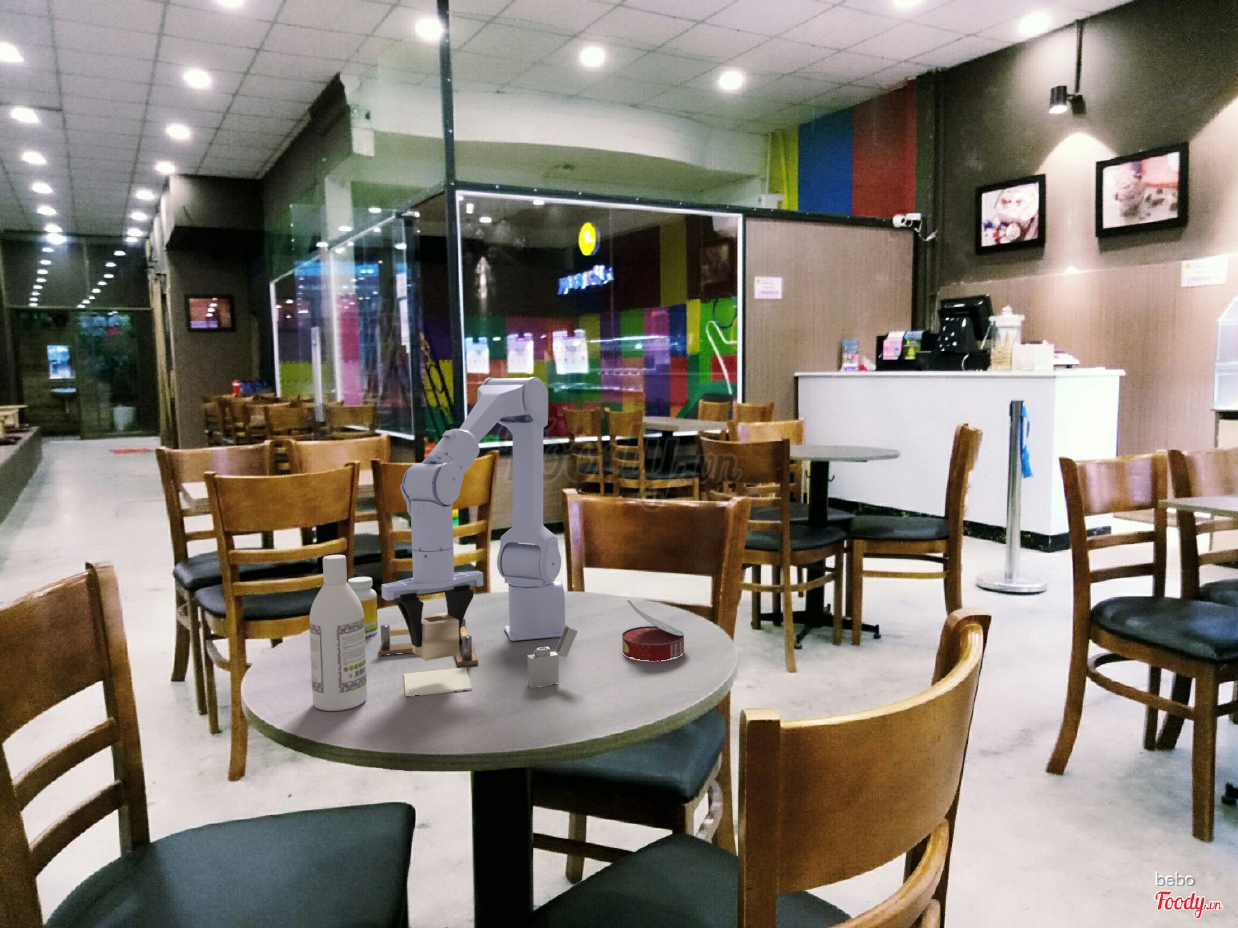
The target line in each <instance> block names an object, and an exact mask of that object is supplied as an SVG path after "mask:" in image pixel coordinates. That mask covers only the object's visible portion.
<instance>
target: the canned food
mask: <svg viewBox="0 0 1238 928" xmlns="http://www.w3.org/2000/svg"><path fill="white" fill-rule="evenodd" d="M627 603H628V604H629V605H630V606H631V607H632V608H633V610H634V611H635V612H636V613H637V614H638V615H640V616H641V617H642V618H643V619H644V620H646V622H648V623H650V624H651V625H647V626H646V625H645V626H637V627H632V628H629V629H627V630H624V631H623V632H622V635H621V637H622V640H621V641H622V644H621V645H622V648H621V649H622V652H623V653H624V654H625V655H626V656H628V657H633V658H635V659H640V660H649V661H657V660H658V661H661V660H667V659H670V658H673V657H678V656H680V655H681V654H682V653H683V652H684V653H685V633H684V632H683V631H681V630H679V629H677V628H675V627H673V626H671V625H670V624H667V623H665V622H663V621H660V620H658V619H656V618H653V616H650V615H649V614H647V613H644V612H642V610H640V609H638V608H637V607H636V605H634V604H633V602H632V601H631V600H629V599H628V600H627ZM623 653H622V654H623Z"/></svg>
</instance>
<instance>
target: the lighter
mask: <svg viewBox="0 0 1238 928" xmlns="http://www.w3.org/2000/svg"><path fill="white" fill-rule="evenodd" d="M578 631H579V630H578V629H576V628H575V627H572V626H570V625H568V624H565V628H564V630H563V633H562V635H561V636H560V637H559V640H558V643H557V644H556V647H555V650H554V651H551V648H550V646H542V647H537V648H535V650H534V651H533V653H532V654H527V656H526V657H527V686H530V687H531V688H530V687H529V688H530V689H535V688H534V687H538V686H544V687H549V686H548V685H551V684H556V683H559V684H560V681H559V675H560V674H559V656H561V657H565V658H567V657H568V655H569V653H570V650H571V648H572V646H573V644H574V641H575V639H576V636H577V634H578ZM551 686H552V685H551ZM538 688H539V687H538Z"/></svg>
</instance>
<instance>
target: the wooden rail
mask: <svg viewBox="0 0 1238 928" xmlns="http://www.w3.org/2000/svg"><path fill="white" fill-rule="evenodd" d="M466 629H467V627H466V618H464V619H463V622H462V626H461V630H460V635H459V655H454V657H455V661H456V664H457V668H464V667H470V666H472V667H473V666H479V659H478V655H477V653H476V651H475V648H474V646H473V642H472V641H473V640H472V638H473V637H472V635H468V632H467V630H466ZM405 635H408V636H409V635H410V633H409V630H408V627H406V628H395V629H391V628H390V624H382V625H380V645H379V651H378V653H379V654H378V655H379V656H380V655H387V654H396V653H409V654H414V653H413V652H412V642H407V643H398V644H397V643H395V644H394V643H393V644H391V637H394V636H405ZM387 656H388V655H387Z"/></svg>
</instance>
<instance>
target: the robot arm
mask: <svg viewBox="0 0 1238 928" xmlns="http://www.w3.org/2000/svg"><path fill="white" fill-rule="evenodd" d="M476 397H477V401H476V403H475V404H474V405H473V408H471V410H470V412H469V413H468V415H467V417H466V418H465V420H464V421H463V422H462V424H461V426H460V427H459V428H452V429H449V430H445V432H444V433H442V438H441V439H440V440H439V442H437V444H436V445H435V446H434V447H433V449H432V450H431V451H430V452H429V453H428V455H427V456H425V458H424V459H423V461H421V463H419V462H418V463H415V464H413V465H411V466H410V467H409V468H407V469H406V471H405V473H404V474H403V477H402V483H401V484H400V492H401V495H402V498H403V499H404V501H405V502H406V503H405V504H406V512H407V513H408V516H410V521H411V524H410V526H411V529H410V530H411V553H412V577H410V578H406V579H402V580H398V581H393V582H389V583H383V584H381V599H384V600H385V601H393V600H394V602H395V603H396V605H397V607H398V609H399V611H400V612H401V614H402V617H403V619H404V621H405V624H406V626H407V627H406V628H408V630H409V633H410V634H409V637H410V641H411V642H410V643H412V645H414V646H415V647H422V628H421V622H422V616H423V610H424V604H425V603H424V602H423V601H421V600H420V597H419V596H418V595H423V594H431V593H437V592H438V593H439V592H444V595H445V596H444V597H445V602H446V608H447V609H446V610H447V614H448V615H450V616H452V617H454V618H456V619H458V620H459V635H460V630H461V626H462V622H463V619H465V616H466V615H465V614H466V613H467V610H468V609H469V606H470V604H471V602H472V600H473V599H474V590H473V589H471V587H483V586H484V572H482V571H480V570H473V571H462V572H461V571H458V572H455V565H454V564H455V563H454V562H455V560H454V555H455V554H454V527H453V523H454V520H453V503H455V502H456V500H458V499H459V496H460V494H461V490H462V489H461V488H462V484H463V482H464V478H465V476H464V475H465V474H466V472H467V471H468V469H469V468H470V467H471V466H472V464H473V463H474V462H475V460H476V459H477V458H478V456H479V454H480V446H479V445H480V444H479V443H480V442H481V441H482V440H483V438H485V436H486V435H487V434H489V432H490V431H491V430H492V429H493V428H494V426H496V424H497V423H498V424H499V425H501V426H504V427H506V429H507V430H508V431H509V432H510V433H511V435H512V526H511V528H509V529H508V530H507V531H506V532H505V533H504V534H502V535H501V536H500V545H499V550H498V554H497V558H496V567H497V569H498V570H497V571H498V573H499V575H500V576H501V578H504V584H508V614H509V615H508V625H504V630H505V632H506V634H507V636H508V638H509V640H510V641H511V642H515V641H525V640H536V639H547V638H561V635H562V633H563V630H564V628H565V626H566V597H565V589H564V585H563V582H562V580H556V578H557V577H558V576H559V574H560V572H561V568H562V556H561V553H560V549H559V538H558V537H557V536H556V535H555V534H554V533H553V532H552V531H550V530H549V529H548V528H547V527H545V525H544V428H545V427H546V426H548V421H549V420H548V419H549V391H548V389H547V388H546V385H544V383H543V381H542V379H540V378H539V377H537V376H531V377H515V378H514V377H513V378H512V377H511V378H509V377H508V378H507V377H506V378H502V377H501V378H495V377H487V378H485V379H484V381H483V382H482V383H481V384H480V386H479V387H478V388H477V394H476Z"/></svg>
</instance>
